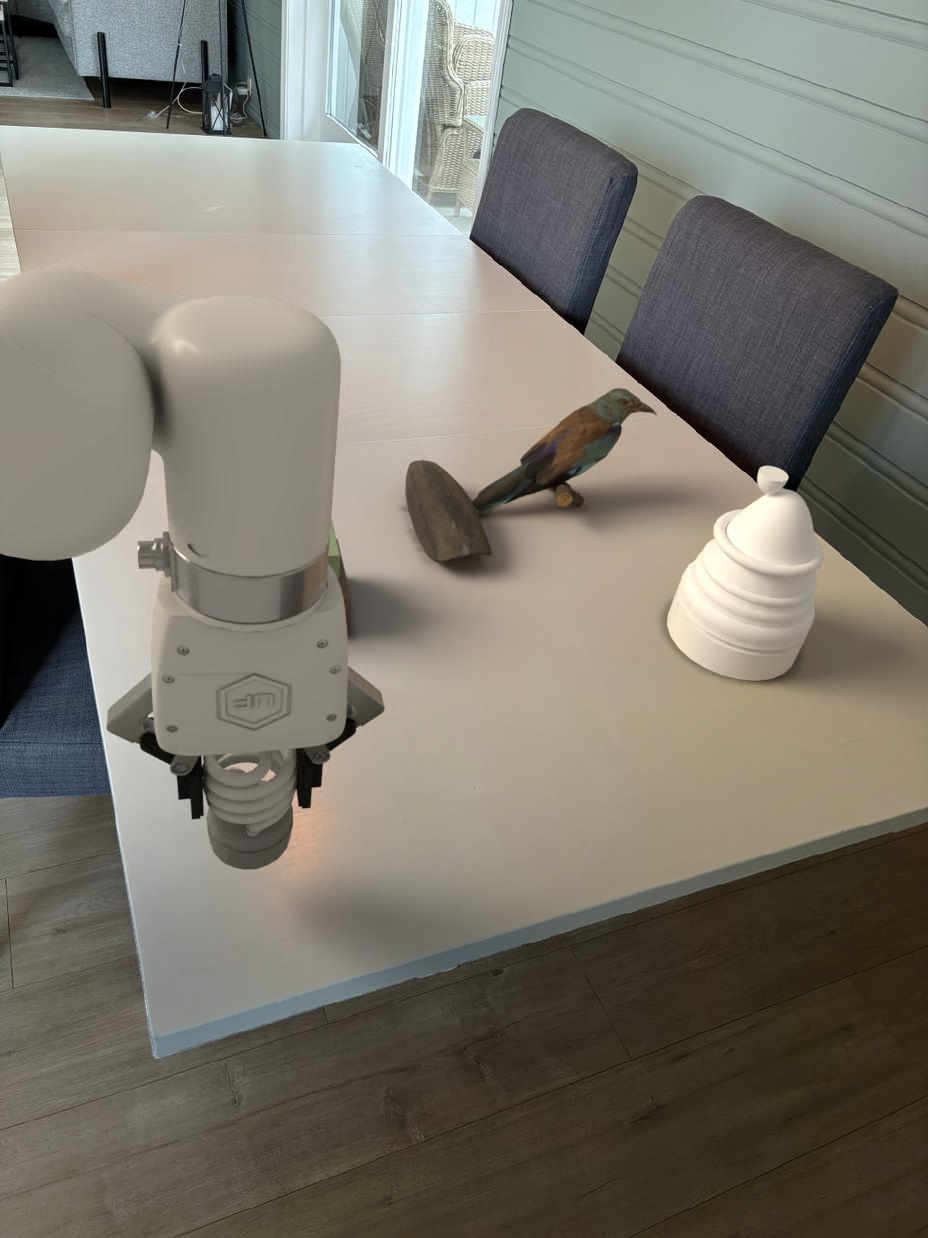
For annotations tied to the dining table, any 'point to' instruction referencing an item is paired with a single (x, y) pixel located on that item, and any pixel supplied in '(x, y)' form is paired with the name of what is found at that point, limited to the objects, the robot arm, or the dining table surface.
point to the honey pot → (751, 587)
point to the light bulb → (250, 806)
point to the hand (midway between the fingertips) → (250, 793)
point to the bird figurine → (565, 452)
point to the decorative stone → (443, 514)
